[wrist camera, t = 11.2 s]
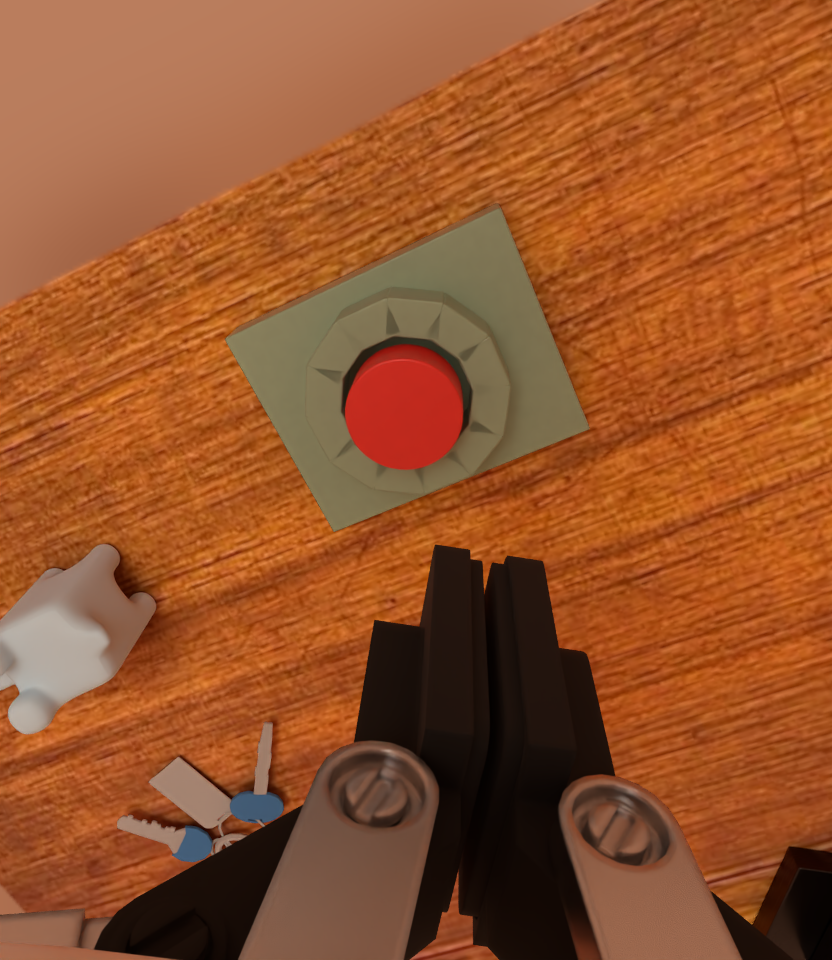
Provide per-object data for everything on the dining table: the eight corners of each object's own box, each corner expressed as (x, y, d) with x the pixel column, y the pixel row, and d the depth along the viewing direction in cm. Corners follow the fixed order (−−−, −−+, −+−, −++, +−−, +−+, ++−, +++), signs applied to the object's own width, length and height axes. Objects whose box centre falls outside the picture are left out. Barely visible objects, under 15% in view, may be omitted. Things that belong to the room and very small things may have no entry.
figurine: (-26, 600, 33) (-122, 695, 28) (126, 525, 32) (55, 611, 26) (34, 669, 35) (-47, 773, 29) (183, 602, 33) (127, 699, 27)
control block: (498, 202, 26) (503, 212, 23) (583, 413, 29) (598, 449, 26) (236, 327, 28) (208, 353, 25) (339, 512, 31) (326, 556, 28)
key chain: (310, 930, 41) (307, 945, 40) (153, 928, 41) (147, 943, 40) (277, 714, 35) (273, 727, 34) (96, 715, 36) (88, 728, 35)
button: (434, 324, 25) (433, 338, 23) (480, 424, 26) (482, 444, 24) (332, 371, 25) (323, 387, 24) (381, 465, 27) (377, 487, 25)
